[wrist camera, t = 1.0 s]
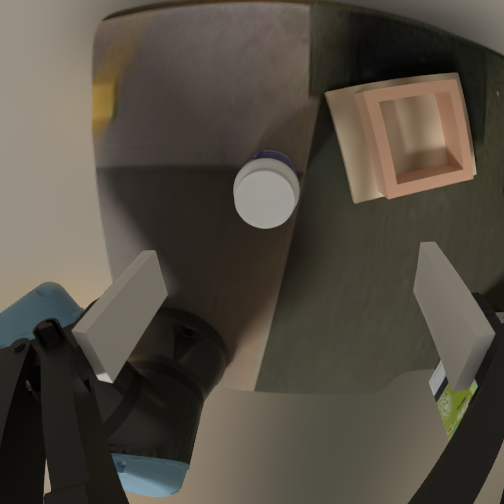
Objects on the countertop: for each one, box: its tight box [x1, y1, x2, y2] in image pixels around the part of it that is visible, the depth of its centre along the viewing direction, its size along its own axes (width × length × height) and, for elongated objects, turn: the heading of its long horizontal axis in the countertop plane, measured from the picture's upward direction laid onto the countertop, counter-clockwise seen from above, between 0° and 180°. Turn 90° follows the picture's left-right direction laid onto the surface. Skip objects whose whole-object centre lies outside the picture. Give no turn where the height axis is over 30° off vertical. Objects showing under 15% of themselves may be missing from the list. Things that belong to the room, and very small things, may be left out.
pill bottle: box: [233, 150, 300, 229], centre depth 28 cm, size 6×6×10 cm
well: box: [354, 79, 473, 199], centre depth 26 cm, size 10×10×4 cm
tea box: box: [429, 312, 504, 441], centre depth 34 cm, size 15×10×15 cm, turn 179°
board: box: [324, 73, 476, 203], centre depth 28 cm, size 16×12×1 cm
